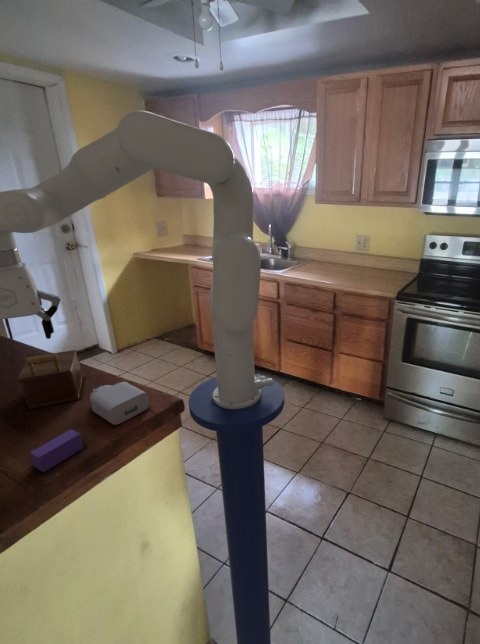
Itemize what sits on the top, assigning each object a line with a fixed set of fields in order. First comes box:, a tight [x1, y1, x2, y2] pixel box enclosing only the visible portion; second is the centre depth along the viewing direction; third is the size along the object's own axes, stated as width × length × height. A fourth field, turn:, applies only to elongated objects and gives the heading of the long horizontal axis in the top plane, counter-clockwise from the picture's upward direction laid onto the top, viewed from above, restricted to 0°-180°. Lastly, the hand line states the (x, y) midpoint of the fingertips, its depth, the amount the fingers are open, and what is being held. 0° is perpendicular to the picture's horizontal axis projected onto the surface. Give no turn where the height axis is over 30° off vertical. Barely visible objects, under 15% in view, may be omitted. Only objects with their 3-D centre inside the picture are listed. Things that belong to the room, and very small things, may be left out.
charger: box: [89, 381, 150, 426], centre depth 89 cm, size 5×9×15 cm
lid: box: [17, 349, 77, 383], centre depth 91 cm, size 12×11×5 cm
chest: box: [19, 352, 84, 410], centre depth 94 cm, size 12×11×8 cm
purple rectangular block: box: [29, 429, 84, 473], centre depth 73 cm, size 8×3×4 cm, turn 152°
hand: (22, 340), depth 78 cm, fingers open, 9 cm apart
